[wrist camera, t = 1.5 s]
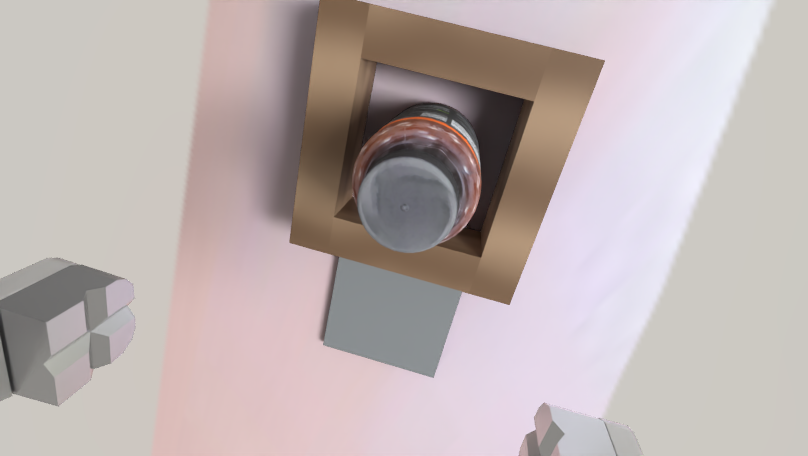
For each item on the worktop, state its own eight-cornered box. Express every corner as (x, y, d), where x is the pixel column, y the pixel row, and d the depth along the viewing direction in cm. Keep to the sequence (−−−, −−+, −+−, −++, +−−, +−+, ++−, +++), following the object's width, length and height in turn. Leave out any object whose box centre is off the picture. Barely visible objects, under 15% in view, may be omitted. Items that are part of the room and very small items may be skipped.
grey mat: (343, 241, 30) (341, 245, 29) (466, 276, 29) (465, 280, 29) (325, 340, 34) (323, 344, 33) (434, 372, 33) (433, 377, 32)
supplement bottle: (402, 204, 28) (358, 289, 18) (373, 117, 26) (306, 155, 16) (490, 181, 27) (498, 259, 16) (466, 87, 25) (458, 108, 14)
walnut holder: (344, 1, 24) (320, -9, 20) (585, 60, 23) (604, 60, 20) (312, 220, 30) (289, 242, 26) (505, 273, 29) (509, 304, 25)
